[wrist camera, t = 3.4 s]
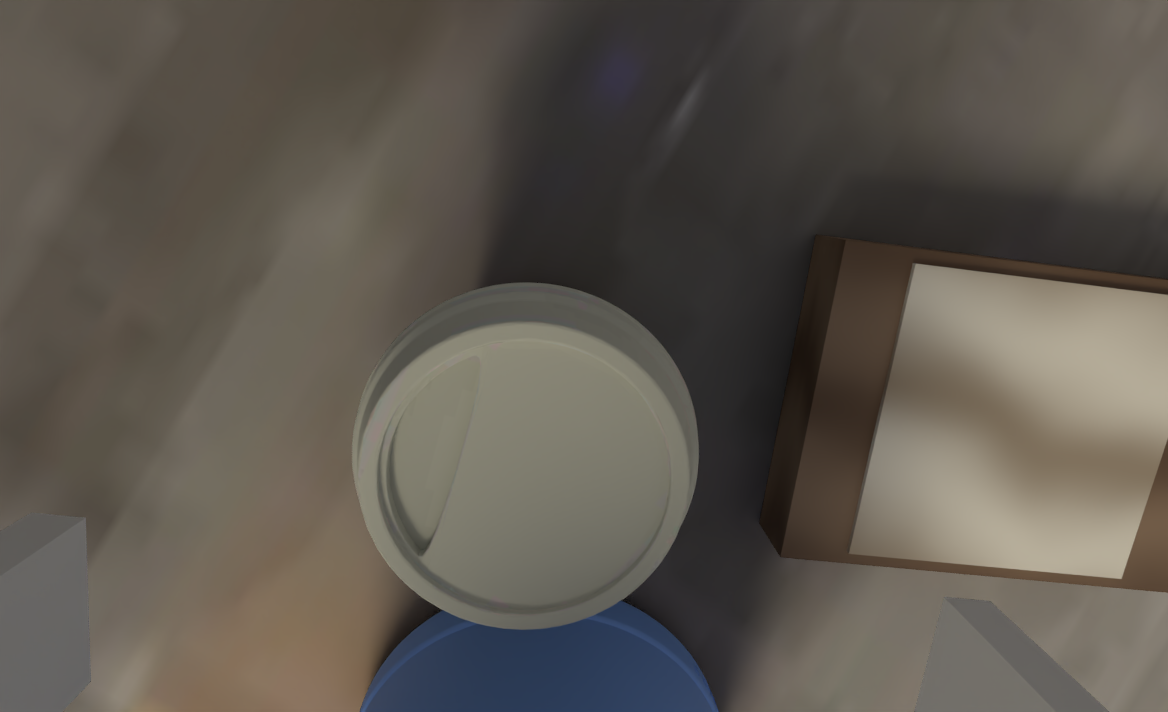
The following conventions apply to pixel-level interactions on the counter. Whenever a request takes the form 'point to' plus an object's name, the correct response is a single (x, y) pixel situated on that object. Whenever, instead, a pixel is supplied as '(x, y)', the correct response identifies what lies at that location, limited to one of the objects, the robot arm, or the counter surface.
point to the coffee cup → (525, 455)
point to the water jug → (541, 668)
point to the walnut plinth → (975, 418)
